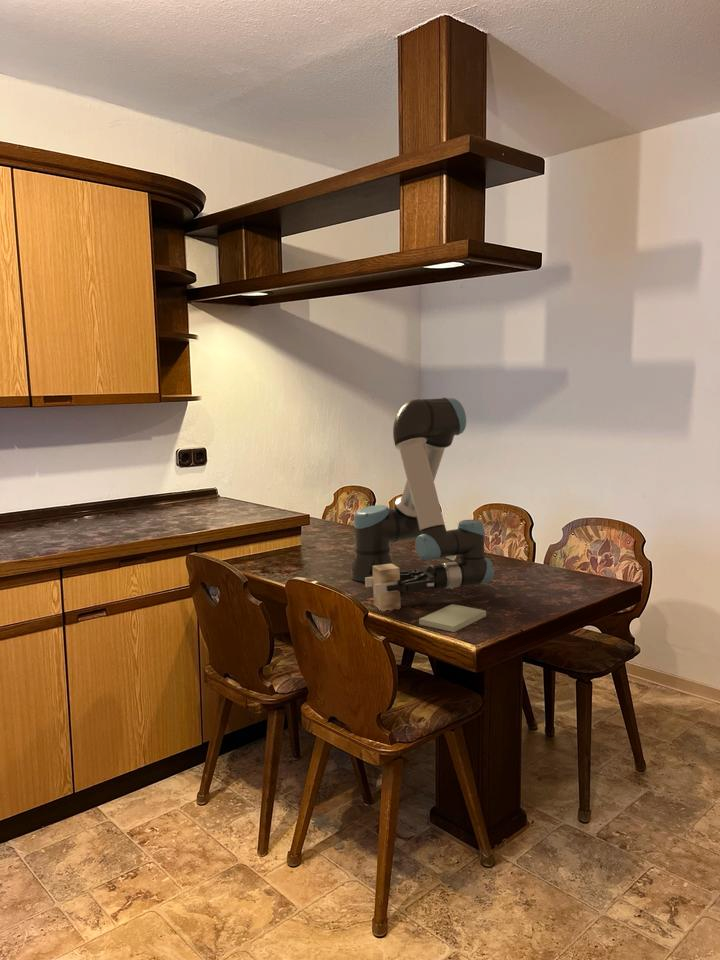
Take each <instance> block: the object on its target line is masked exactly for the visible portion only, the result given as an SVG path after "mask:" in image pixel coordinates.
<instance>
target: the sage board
mask: <svg viewBox="0 0 720 960" xmlns="http://www.w3.org/2000/svg"><path fill="white" fill-rule="evenodd" d="M486 617H487V610H485V609H480V608H475V607H469V606H464V605H461V604H460V605H458V604H454V603H452V604H449V605H447V606H444V607H443V608H440V609H437V610H436V611H433V612H431V613H429V614H426V615H423V617H419V618H418V625H420V626H424V627H429V628H433V629H438V630H443V631H446V632H451V633H455V632H457V631H459V630H461V629H463V628H465V627H467V626H469V625H471V624H473V623H476V622H477V621H479V620H481V619H483V618H486Z"/></svg>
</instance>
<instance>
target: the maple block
mask: <svg viewBox="0 0 720 960" xmlns="http://www.w3.org/2000/svg"><path fill="white" fill-rule="evenodd" d="M372 568H373V586H372V591H373V595H372V596H373V606H374V605H375V606H376V607H377V608H378V609H379V610H378V609H377V608H376V607H375V606H374V607H375V608H376V609H377V610H378V611H380V610H381V611H382V612H387V611H386V610H389V611H394V610H393V609H396V610H400V608H401V606H402V605H401V603H402V602H401V592H399V591H398V590H397V591H396V592H389V593H382V594H375V585H374V584H380V583H388V582H397V584H398V580H400V567H398V566H397V565H395V564H394V563H393V564H392V563H391V564H383V565H375V566H372ZM401 609H402V608H401ZM381 611H380V612H381Z"/></svg>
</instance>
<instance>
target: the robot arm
mask: <svg viewBox="0 0 720 960" xmlns="http://www.w3.org/2000/svg"><path fill="white" fill-rule="evenodd" d="M466 427H467V414H466V412H465V408H464V406H463V404H462V403H461V402H460V400H458V399H456V398H454V397H453V398H452V397H441V398H425V399H424V398H422V399H421V398H416V399H412V400H410V401H407V402H405V403H404V404H403V405H402V406H401V407H400V409H399V410H398V411H397V414H396V415H395V419H394V421H393V428H392V433H393V434H392V436H393V443H394V447H395V449H396V450H397V451H400V452H399V453H400V458H401V460H402V463H403V465H402V466H403V469H404V473H405V476H406V482H405V485H404V489H403V492H402V494H401V495H402V496H398V497H397V498H396V500H395V503H394V506H393V507H392V508H389V506H387V505H383V504H380V505H379V504H377V505H370V506H365V507H362V508H359V509H358V510H357V511H356V512H355V513H354V516H353V517H354V518H353V519H354V520H353V527H354V547H355V548H354V549H355V550H354V553H355V556H354V559H353V561H352V566H351V570H350V578H351V579H352V580H354V581H356V582H357V581H358V582H361V583H365V584H364V585H365V587H364V588H371V587H372V588H373V568H372V566H375V565H383V564H391V563H392V564H394V562H393V561H394V560H393V558H392V555H391V544H395V543H402V542H409V541H414V544H415V546H414V549H415V552H416V555H417V556H418V557H419V559H421V560H423V561H429V560H438V559H443V558H444V557H448V556H455V555H459V558H460V561H457V562H453V561H451V562H449V561H448V562H443V563H435V564H430V565H427V568H426V570H425V571H424V570H417V569H410V570H403V571H402V570H401V571H400V580H398V584H397V582H388V583H380V584H374V585H375V594H382V593H389V592H396V591H397V590H398V591H399V592H400V593H401V592H402V593H403V594H407V593H412V592H418V591H423V590H424V591H425V590H432V591H440V590H444V589H450V590H454V588H460V587H467V586H480V585H482V584H487V583H490V582H491V581H492V579H493V578H494V573H495V572H494V571H495V570H494V568H493V562H492V561H491V560H490V559H489V558H487V557H485V537H486V535H485V528H484V522H483V521H481V520H477V519H464V520H463V519H462V520H460V521H459V522H458V525H457V528H456V529H449V530H447V529H446V525H445V521H444V517H443V512H442V509H441V506H440V505H441V504H440V500H439V497H438V493H437V490H436V489H437V488H436V485H435V479H436V477H437V473H438V470H439V468H440V464H441V461H442V458H443V455H444V452H445V449H447V448H449V447H450V446H451V445H452V443H453V441H454V438H455V436H459V435H461V434H463V433H464V431H465V430H466Z"/></svg>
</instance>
